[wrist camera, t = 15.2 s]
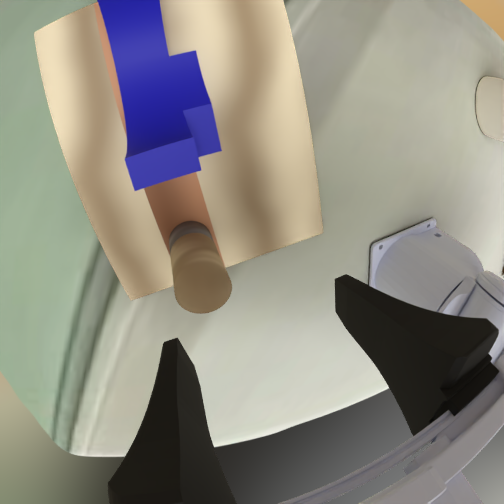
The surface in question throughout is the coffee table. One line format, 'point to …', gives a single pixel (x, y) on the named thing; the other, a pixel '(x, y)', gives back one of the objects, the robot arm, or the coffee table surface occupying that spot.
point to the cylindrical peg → (197, 269)
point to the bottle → (491, 107)
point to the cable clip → (158, 96)
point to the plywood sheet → (212, 166)
